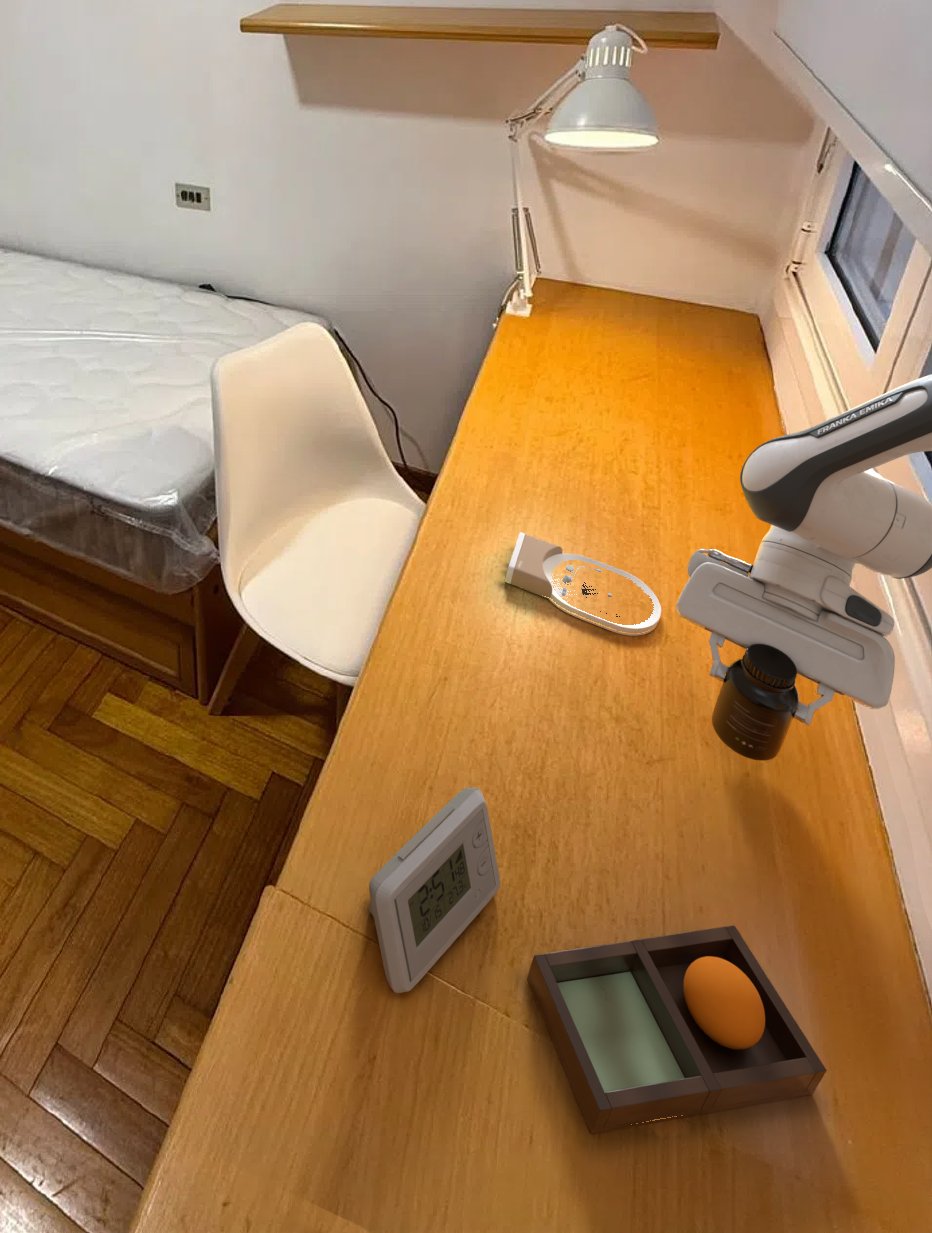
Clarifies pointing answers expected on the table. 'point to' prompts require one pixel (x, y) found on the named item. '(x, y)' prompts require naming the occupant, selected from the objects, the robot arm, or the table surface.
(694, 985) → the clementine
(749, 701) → the supplement bottle
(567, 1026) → the tray
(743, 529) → the table surface
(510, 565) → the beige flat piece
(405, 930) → the digital clock
